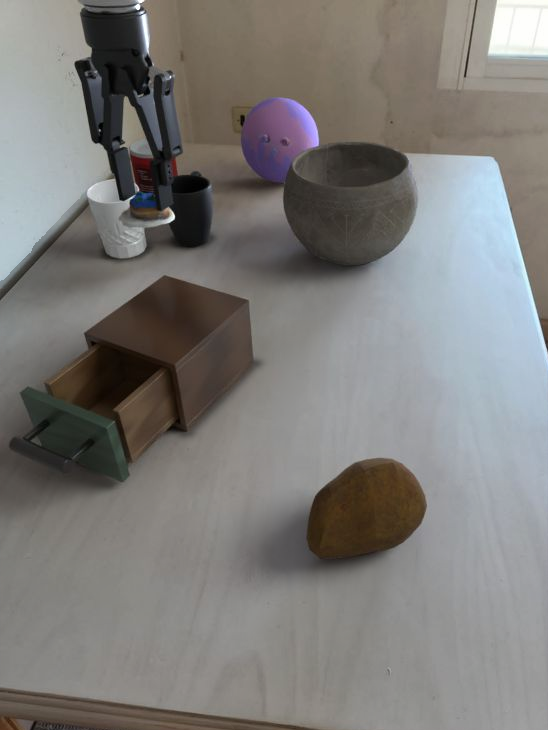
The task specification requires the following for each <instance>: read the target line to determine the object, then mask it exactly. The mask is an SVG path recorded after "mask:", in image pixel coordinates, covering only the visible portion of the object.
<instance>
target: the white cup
mask: <svg viewBox="0 0 548 730" xmlns="http://www.w3.org/2000/svg"><path fill="white" fill-rule="evenodd" d="M134 186H135V191H136V192H137V191H139V188H138V186H137V185H136V183H135V182H134ZM85 195H86V198H87V202H88V205H89V207H90V211H91V213H92V218H93V220H94V223H95V226H96V229H97V232H98V235H99V237H100V239H101V241H102V245H103V248H104V251H105V253H106V254H107V255H108V256H110V257H111V258H115V259H131V258H135V257H137V256H139V255H141V254H142V253H144V252H145V250H146V248H147V247H148V246H147V245H148V244H147V239H146V234H145V233H146V232H145V229H146V228H143V227H127V226H123V223H122V221H120V220H119V216H121V214H122V212H123V211H124V210H127V209H128V208H130V204H129V202H130V199H132V198H133V197H134V196H135V195H134V196H133V197H131V198H129V199H127V200H125V201H120V200H119V195H118V190H117V185H116V180H115V178H112V179H111V178H110V179H105V180H102V181H101V180H100V181H98V182H96V183H94V184H92V185H90V186H89V187H88V189H87V190H86V192H85Z"/></svg>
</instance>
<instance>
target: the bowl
mask: <svg viewBox="0 0 548 730" xmlns="http://www.w3.org/2000/svg"><path fill="white" fill-rule="evenodd" d="M282 204H283V212H284V215H285V218H286V221H287V223H288V225H289V227H290V229H291V231H292V232H293V235H294V237H296V239H297V240H298V241H299V243H300V244H301V245H302V246H303V248H305V250H306V251H308V252H310V253H311V254H312V255H314V256H316V257H318V258H320V259H323V260H325V261H327V262H330V263H332V264H336V265H340V266H359V265H366V264H369V263H372V262H375V261H377V260H380V259H382V258H384V257H385V256H387V255H388V254H390V253H392V252H393V251H394V250H395V249H396V248H397V247H398V246H400V245H401V243H402V241H403V240H404V239H405V237H406V236H407V235H408V234H409V232H410V230H411V228H412V226H413V224H414V221H415V218H416V215H417V210H418V206H419V205H418V204H419V190H418V184H417V180H416V175H415V172H414V168H413V165H412V163H411V161H410V159H409V158H408V156H407V155H405V153H403V152H401V151H400V150H397V149H395V148H394V147H390V146H388V145H384V144H380V143H377V142H370V141H336V142H328V143H325V144H321V145H318V146H316V147H312V148H309V149H307V150H306V151H302V152H301V153H300V154H298V155H297V156H296V157H295V158H294V159H293V161H292V162H291V164H290V167H289V169H288V172H287V175H286V179H285V182H284V184H283V195H282Z"/></svg>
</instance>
